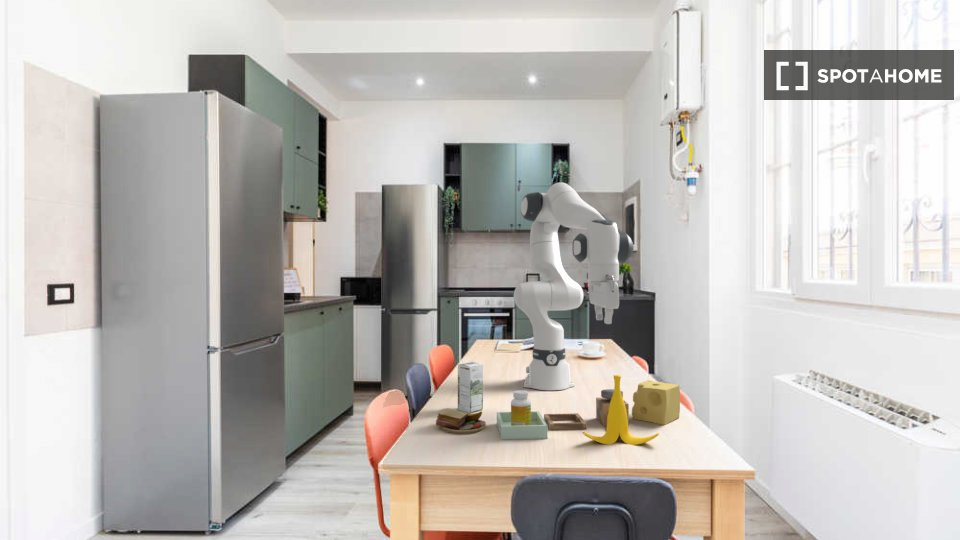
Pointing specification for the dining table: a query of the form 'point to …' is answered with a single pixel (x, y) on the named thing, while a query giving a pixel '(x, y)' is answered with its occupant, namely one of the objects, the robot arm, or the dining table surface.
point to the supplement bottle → (520, 409)
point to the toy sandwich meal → (459, 421)
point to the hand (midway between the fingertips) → (603, 321)
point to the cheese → (656, 402)
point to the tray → (521, 427)
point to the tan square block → (606, 406)
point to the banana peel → (618, 421)
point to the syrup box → (470, 387)
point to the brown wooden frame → (565, 426)
